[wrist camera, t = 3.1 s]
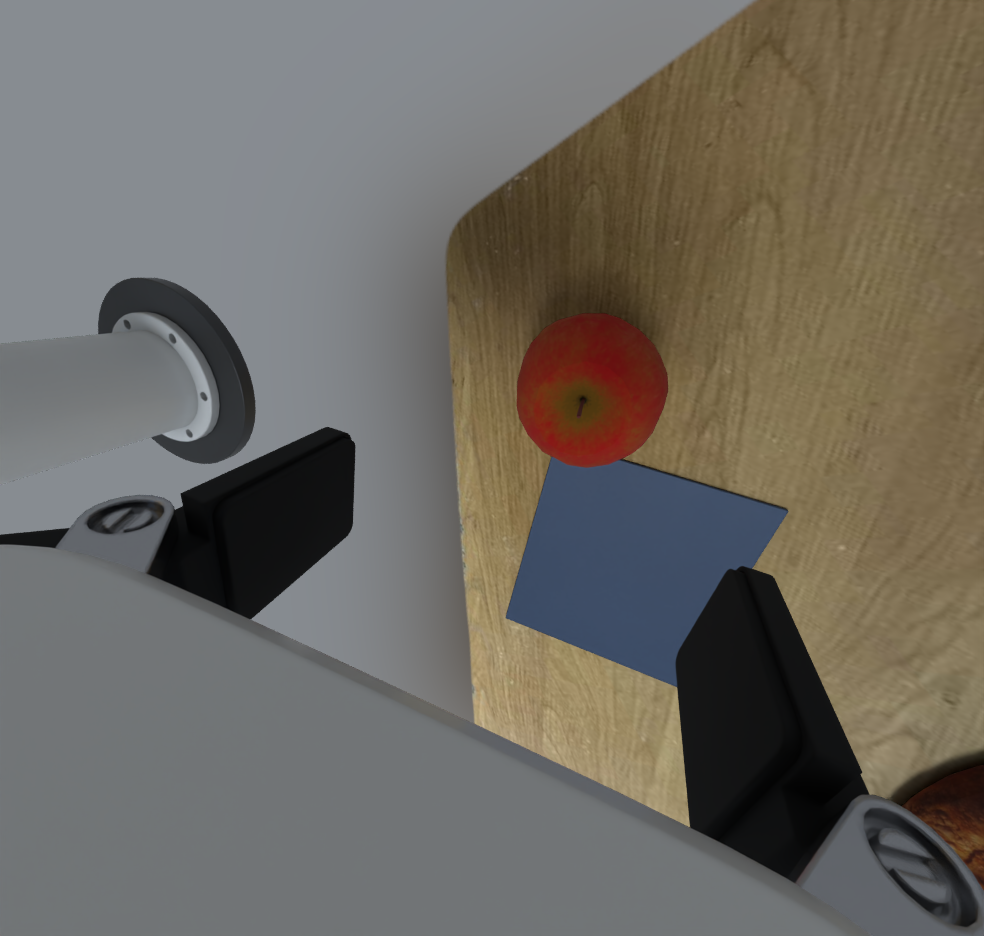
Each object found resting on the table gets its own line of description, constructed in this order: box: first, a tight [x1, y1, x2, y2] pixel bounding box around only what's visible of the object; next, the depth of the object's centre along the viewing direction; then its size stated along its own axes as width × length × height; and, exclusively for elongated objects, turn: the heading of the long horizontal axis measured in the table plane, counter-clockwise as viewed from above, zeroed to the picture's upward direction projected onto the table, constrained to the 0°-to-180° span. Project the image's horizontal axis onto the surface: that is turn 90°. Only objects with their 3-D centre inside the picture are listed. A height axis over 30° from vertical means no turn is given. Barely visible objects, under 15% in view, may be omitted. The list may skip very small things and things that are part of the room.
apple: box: [517, 313, 668, 468], centre depth 25 cm, size 9×8×11 cm
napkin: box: [506, 457, 788, 687], centre depth 35 cm, size 17×20×1 cm
